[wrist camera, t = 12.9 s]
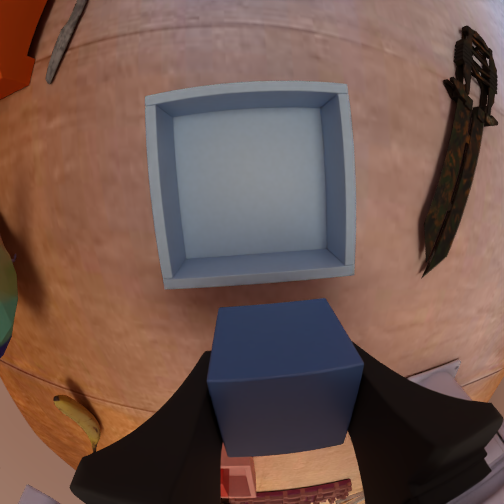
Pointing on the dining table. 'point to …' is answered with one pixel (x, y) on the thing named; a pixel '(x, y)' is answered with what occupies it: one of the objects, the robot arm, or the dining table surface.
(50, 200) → the dining table surface
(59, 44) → the knife
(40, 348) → the dining table surface
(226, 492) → the red block
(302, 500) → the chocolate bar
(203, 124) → the blue bin
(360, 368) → the blue block
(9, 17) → the tape dispenser
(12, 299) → the decorative sculpture
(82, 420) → the banana
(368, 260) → the dining table surface
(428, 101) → the dining table surface
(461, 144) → the knife
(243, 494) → the pink bin
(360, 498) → the crossbow
